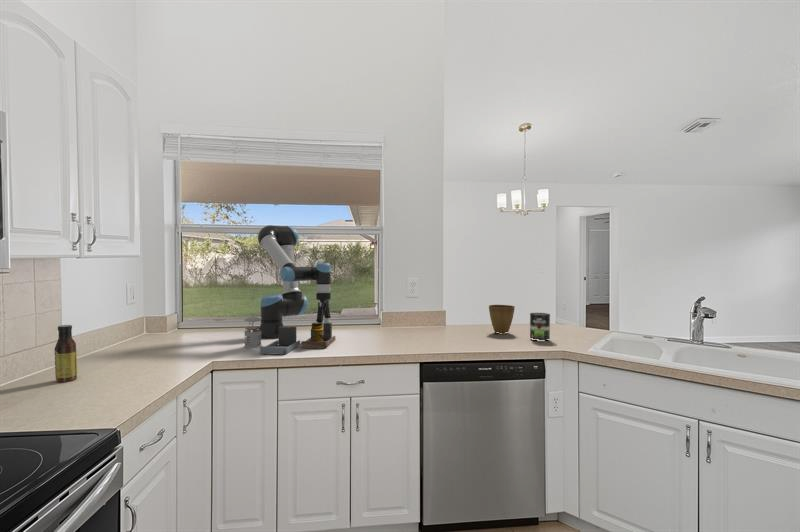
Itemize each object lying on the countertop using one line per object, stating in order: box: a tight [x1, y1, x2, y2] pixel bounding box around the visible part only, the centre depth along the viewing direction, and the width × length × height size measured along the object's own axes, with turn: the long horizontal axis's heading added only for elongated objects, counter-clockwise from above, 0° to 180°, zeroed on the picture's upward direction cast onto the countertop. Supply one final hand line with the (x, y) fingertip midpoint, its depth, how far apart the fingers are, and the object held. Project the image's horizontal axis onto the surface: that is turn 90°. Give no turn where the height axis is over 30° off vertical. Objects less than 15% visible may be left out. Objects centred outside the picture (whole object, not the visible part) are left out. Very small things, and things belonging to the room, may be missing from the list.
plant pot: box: [488, 304, 515, 333], centre depth 254 cm, size 15×15×16 cm
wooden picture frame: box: [300, 322, 336, 349], centre depth 221 cm, size 22×12×9 cm, turn 176°
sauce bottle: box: [54, 324, 78, 383], centre depth 155 cm, size 7×6×20 cm
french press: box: [242, 296, 263, 350], centre depth 214 cm, size 10×12×25 cm
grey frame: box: [259, 325, 301, 355], centre depth 208 cm, size 22×12×9 cm, turn 176°
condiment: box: [310, 322, 323, 341], centre depth 214 cm, size 7×8×12 cm
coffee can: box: [529, 312, 551, 340], centre depth 233 cm, size 10×10×14 cm
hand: (323, 332), depth 230 cm, fingers open, 13 cm apart
